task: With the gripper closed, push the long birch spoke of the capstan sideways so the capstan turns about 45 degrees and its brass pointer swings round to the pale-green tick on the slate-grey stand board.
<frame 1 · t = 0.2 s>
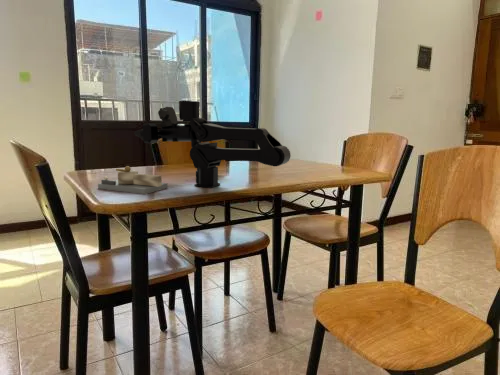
hand: (143, 132, 132), 16 cm above the table, tool horizontal, fingers open, 9 cm apart
medicine bottle: (206, 175, 148), on the table
level stand: (133, 188, 119), on the table
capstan: (137, 175, 116), point 4 cm above the table, hinge at 0.0°
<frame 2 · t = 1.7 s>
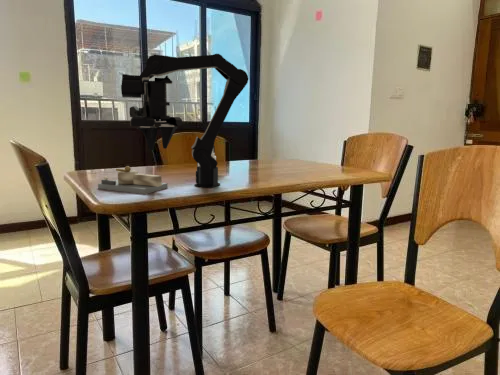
hand: (158, 149, 120), 12 cm above the table, tool pointing down, fingers open, 6 cm apart
nothing on the table moved.
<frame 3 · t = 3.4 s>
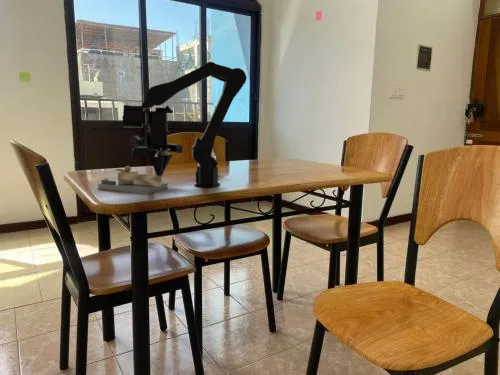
hand: (159, 177, 122), 3 cm above the table, tool pointing down, fingers closed
nothing on the table moved.
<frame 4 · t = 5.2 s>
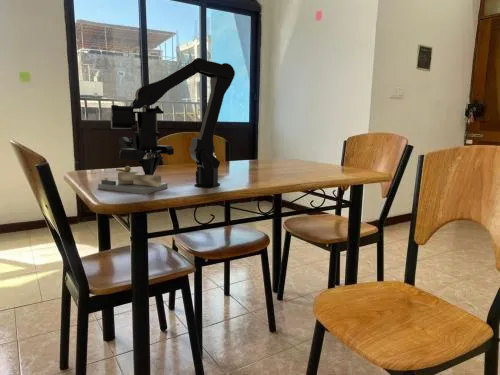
hand: (149, 180, 118), 3 cm above the table, tool pointing down, fingers closed
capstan: (137, 175, 116), point 4 cm above the table, hinge at 0.9°, touching gripper
everything else where it was.
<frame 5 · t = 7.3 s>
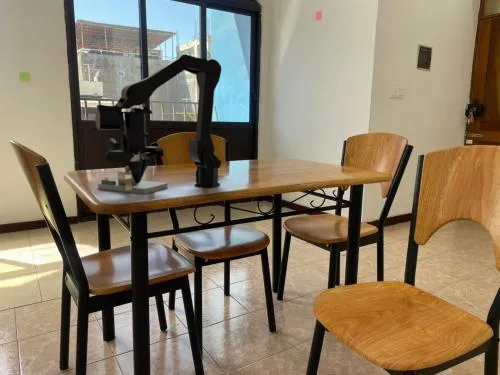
hand: (137, 183, 113), 3 cm above the table, tool pointing down, fingers closed
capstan: (128, 176, 114), point 4 cm above the table, hinge at 47.7°, touching gripper
everything else where it was.
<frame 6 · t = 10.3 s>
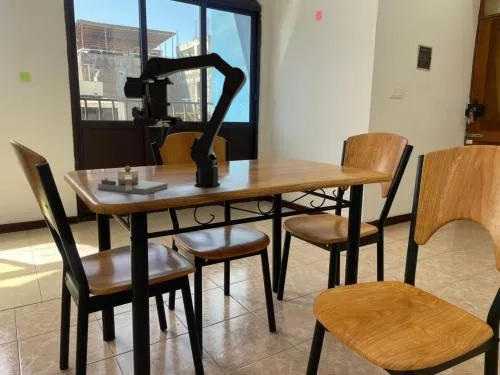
hand: (159, 148, 125), 12 cm above the table, tool pointing down, fingers closed
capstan: (128, 176, 114), point 4 cm above the table, hinge at 47.8°
everything else where it was.
at the end: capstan at +48° (first picture: +0°) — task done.
